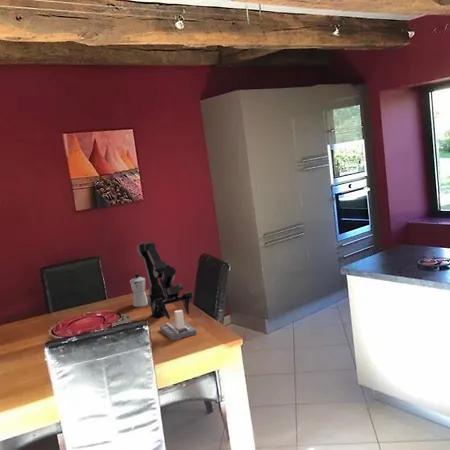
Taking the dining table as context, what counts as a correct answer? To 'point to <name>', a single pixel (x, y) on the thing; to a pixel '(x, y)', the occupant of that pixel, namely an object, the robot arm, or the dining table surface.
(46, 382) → the dining table surface
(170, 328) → the grey slider track base
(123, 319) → the food container
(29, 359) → the dining table surface
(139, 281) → the coffee maker
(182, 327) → the fader
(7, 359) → the dining table surface
